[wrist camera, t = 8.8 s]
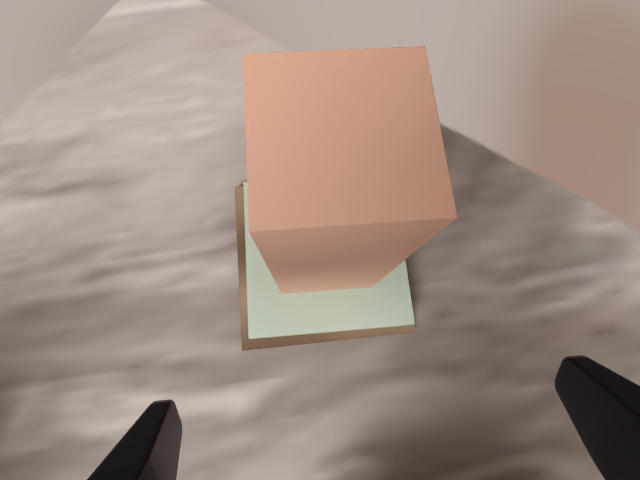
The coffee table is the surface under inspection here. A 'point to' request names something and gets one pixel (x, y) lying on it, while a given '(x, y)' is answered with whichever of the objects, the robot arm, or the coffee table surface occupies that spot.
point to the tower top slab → (320, 301)
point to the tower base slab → (293, 339)
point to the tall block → (342, 164)
